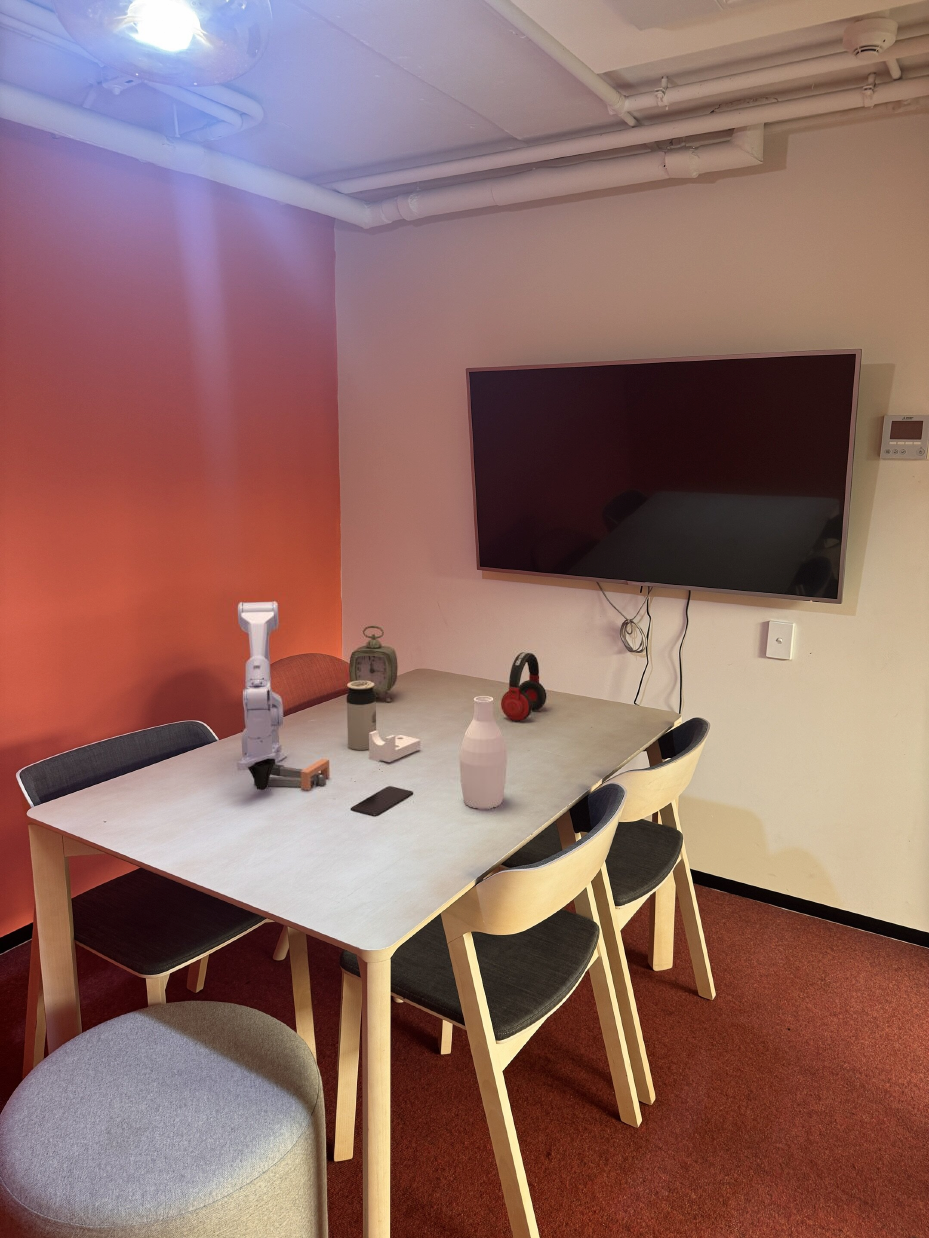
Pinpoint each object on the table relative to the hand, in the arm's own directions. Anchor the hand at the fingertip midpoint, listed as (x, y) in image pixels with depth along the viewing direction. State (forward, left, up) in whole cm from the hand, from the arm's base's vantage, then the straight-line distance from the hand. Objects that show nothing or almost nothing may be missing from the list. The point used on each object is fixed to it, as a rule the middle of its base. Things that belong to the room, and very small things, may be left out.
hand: (261, 788), depth 210 cm
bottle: (+51, +16, -1) cm, 54 cm away
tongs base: (+3, +11, -1) cm, 12 cm away
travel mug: (+5, +39, -1) cm, 40 cm away
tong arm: (+2, +6, -1) cm, 6 cm away
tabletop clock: (-14, +81, -1) cm, 83 cm away
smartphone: (+29, +7, -2) cm, 30 cm away
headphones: (+37, +84, -2) cm, 92 cm away
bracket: (+17, +37, -2) cm, 40 cm away
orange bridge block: (+9, +10, -1) cm, 13 cm away
